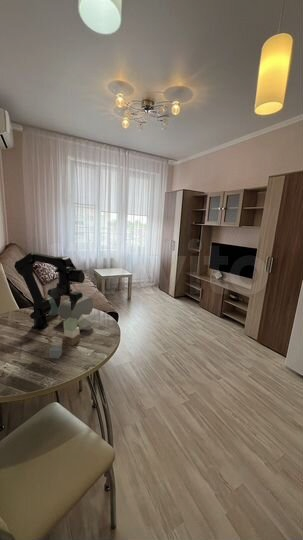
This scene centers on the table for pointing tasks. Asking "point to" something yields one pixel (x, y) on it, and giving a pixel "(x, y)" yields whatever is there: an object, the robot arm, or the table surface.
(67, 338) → the tower base
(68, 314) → the alarm clock
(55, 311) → the cup
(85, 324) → the die
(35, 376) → the table surface
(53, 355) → the slate cube
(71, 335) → the tower top
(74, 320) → the sage cube
